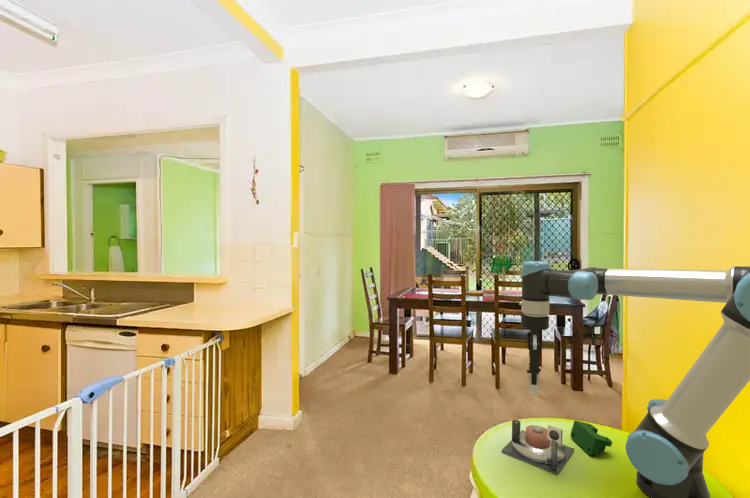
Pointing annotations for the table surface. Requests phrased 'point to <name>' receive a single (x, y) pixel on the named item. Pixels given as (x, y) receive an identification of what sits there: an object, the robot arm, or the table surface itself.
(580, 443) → the clamp
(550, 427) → the turntable base
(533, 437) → the cover
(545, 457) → the turntable
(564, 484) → the table surface
